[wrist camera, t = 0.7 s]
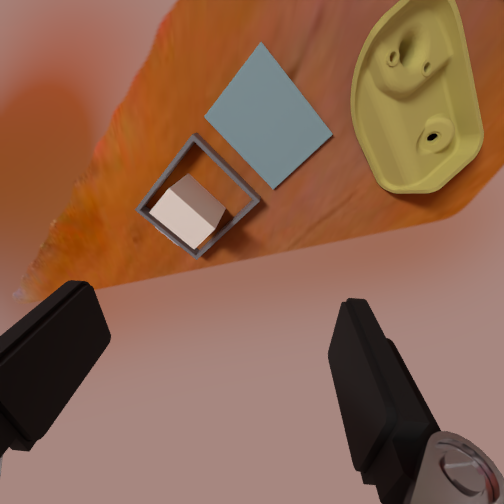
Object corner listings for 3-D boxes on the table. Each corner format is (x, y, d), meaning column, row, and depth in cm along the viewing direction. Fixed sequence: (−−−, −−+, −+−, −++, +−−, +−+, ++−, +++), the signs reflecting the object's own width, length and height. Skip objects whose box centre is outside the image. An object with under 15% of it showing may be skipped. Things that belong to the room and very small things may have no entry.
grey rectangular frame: (197, 132, 35) (192, 133, 33) (260, 196, 39) (259, 201, 37) (139, 207, 42) (133, 211, 41) (198, 255, 46) (195, 261, 45)
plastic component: (486, 147, 31) (428, 199, 30) (430, 150, 37) (382, 193, 37) (449, -44, 22) (368, 27, 22) (384, 5, 29) (321, 60, 28)
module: (188, 173, 38) (168, 188, 32) (226, 208, 41) (215, 228, 34) (171, 194, 41) (148, 212, 34) (207, 226, 43) (193, 249, 36)
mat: (261, 42, 29) (261, 41, 29) (332, 133, 33) (332, 134, 33) (205, 116, 34) (204, 116, 34) (273, 188, 38) (273, 189, 38)
